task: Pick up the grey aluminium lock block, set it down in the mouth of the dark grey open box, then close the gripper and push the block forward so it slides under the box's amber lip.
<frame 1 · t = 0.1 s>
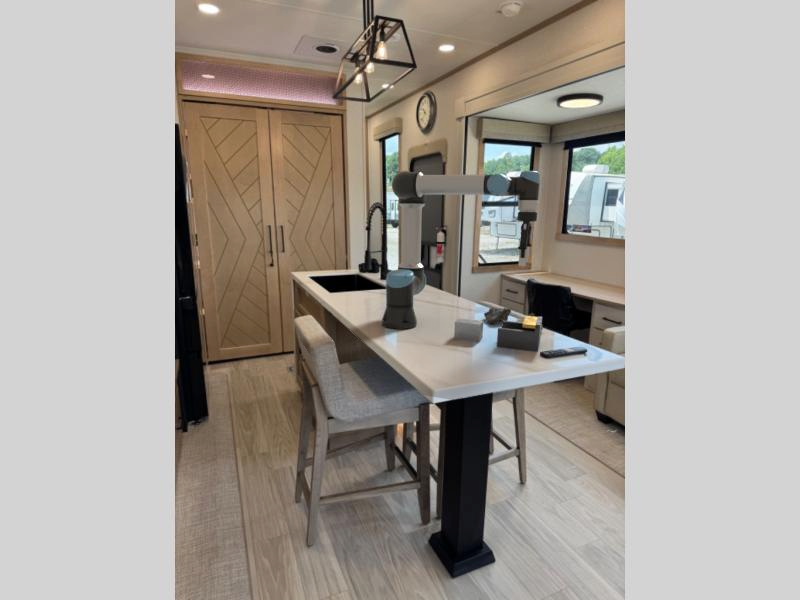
hand: (523, 264, 180), 28 cm above the table, fingers open, 13 cm apart
rock: (496, 321, 200), on the table
dark grey open box: (515, 343, 166), on the table
acorn cap: (528, 331, 185), on the table
lock block: (468, 338, 172), on the table
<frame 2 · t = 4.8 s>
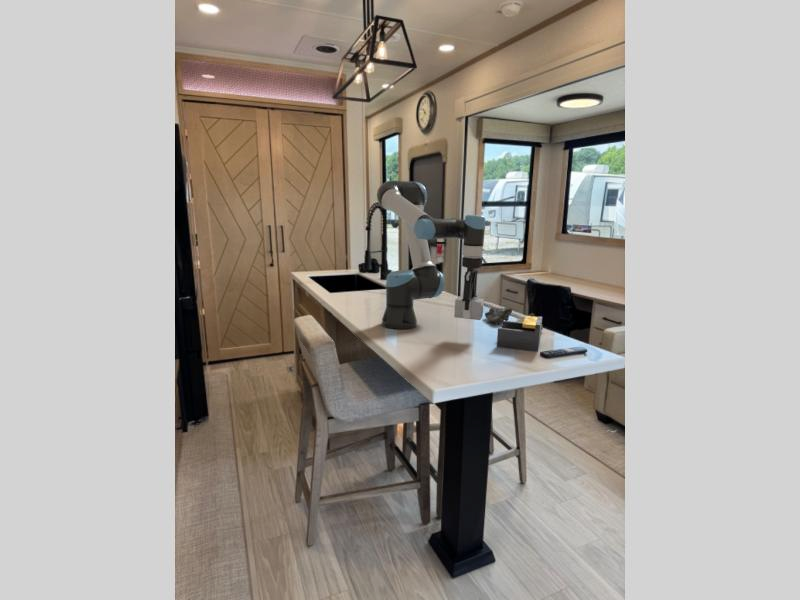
hand: (468, 315, 171), 9 cm above the table, fingers closed on lock block, 6 cm apart
lock block: (468, 316, 171), point 9 cm above the table, touching gripper
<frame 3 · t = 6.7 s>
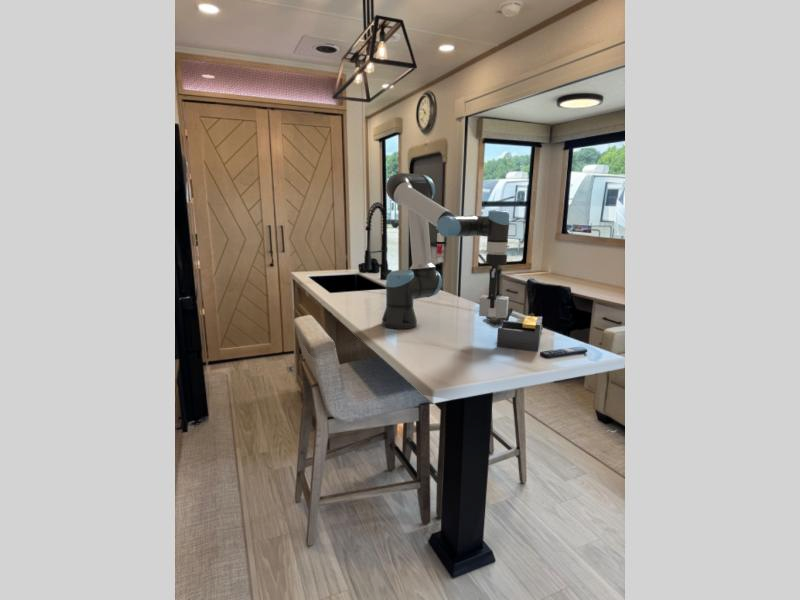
hand: (493, 314, 167), 11 cm above the table, fingers closed on lock block, 6 cm apart
lock block: (493, 315, 167), point 10 cm above the table, touching gripper
everything else where it was.
when the fingers open (0 cm above the table, at t = 8.8 s): lock block stays where it is, on the table.
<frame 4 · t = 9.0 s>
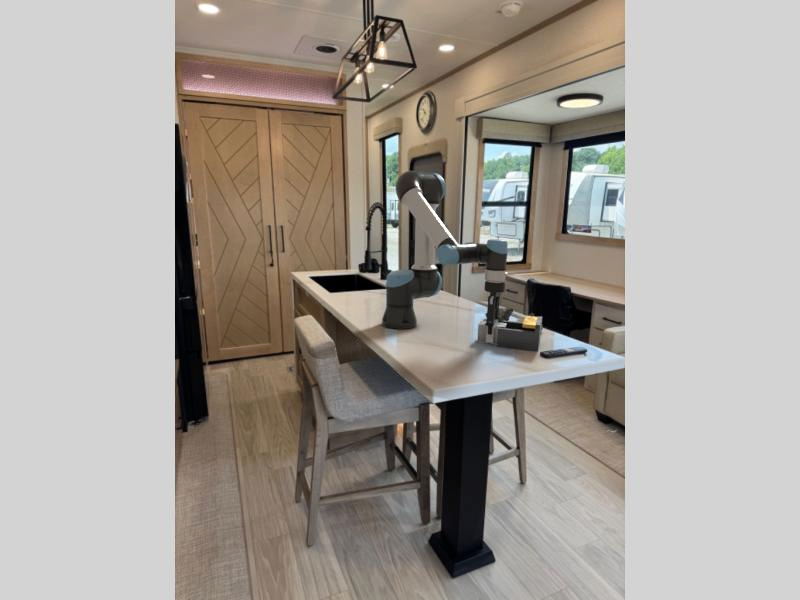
hand: (491, 338, 169), 1 cm above the table, fingers open, 9 cm apart
lock block: (491, 341, 169), on the table
everything else where it was.
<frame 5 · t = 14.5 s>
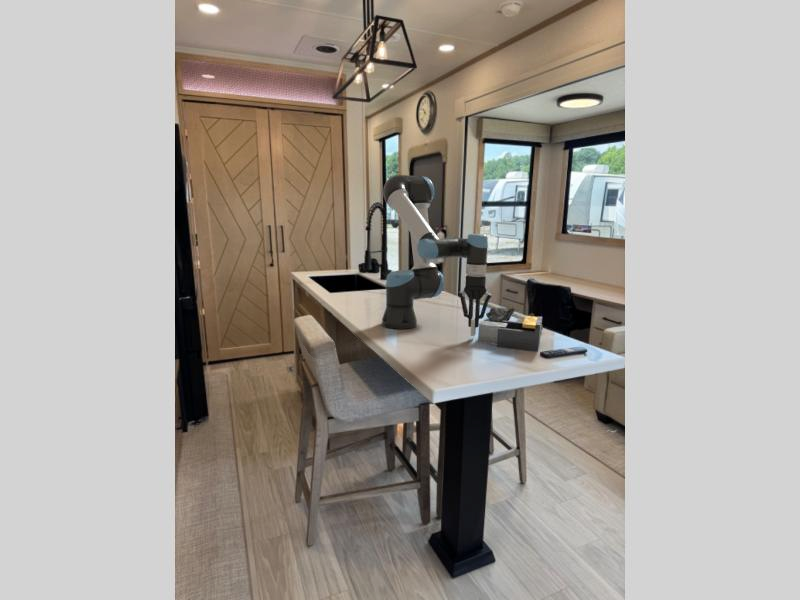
hand: (472, 335, 171), 2 cm above the table, fingers closed
lock block: (492, 341, 169), on the table, touching gripper
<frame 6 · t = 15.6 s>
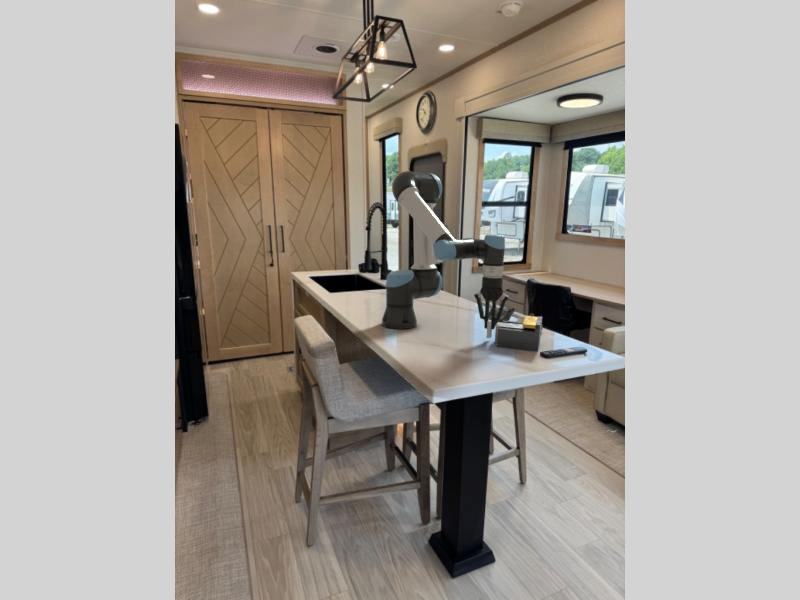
hand: (489, 336, 169), 2 cm above the table, fingers closed
lock block: (508, 343, 167), on the table, touching gripper
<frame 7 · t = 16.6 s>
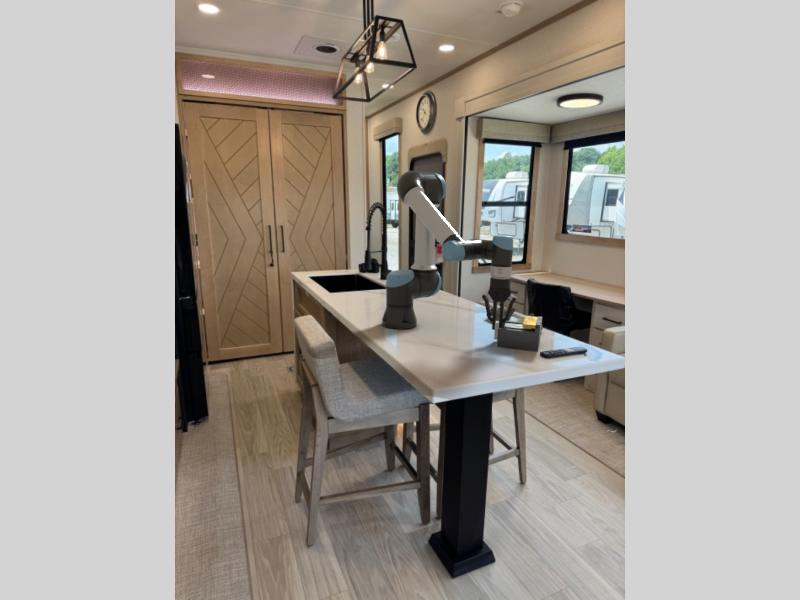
hand: (496, 338, 168), 1 cm above the table, fingers closed
lock block: (517, 343, 166), on the table, touching gripper
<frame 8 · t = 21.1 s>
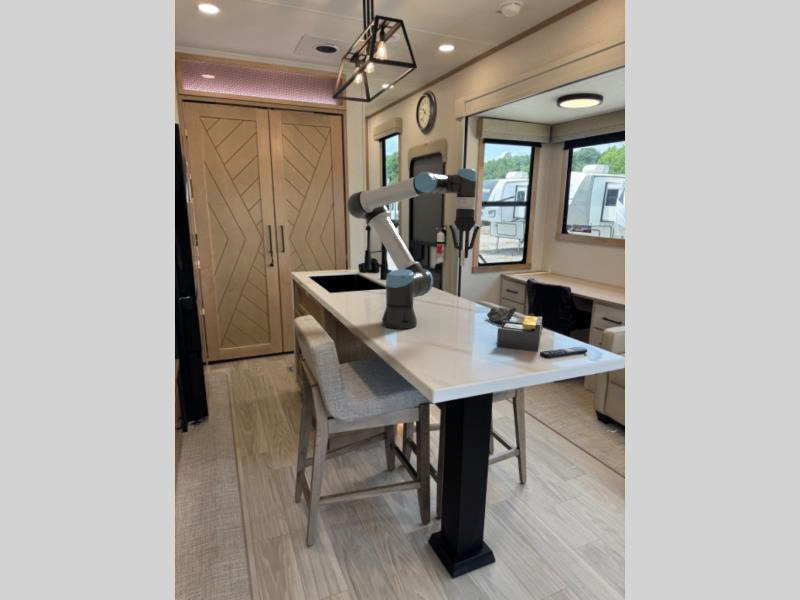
hand: (462, 265, 184), 26 cm above the table, fingers closed
lock block: (517, 344, 166), on the table
at the end: lock block inside the target area (0.5 cm from its centre), on the table; lock block tilted 0°; the gripper is holding nothing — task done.
